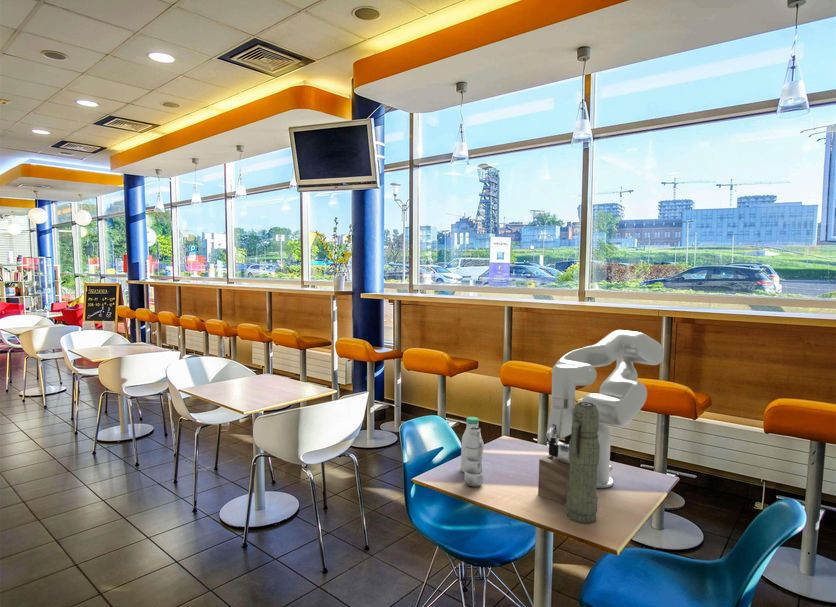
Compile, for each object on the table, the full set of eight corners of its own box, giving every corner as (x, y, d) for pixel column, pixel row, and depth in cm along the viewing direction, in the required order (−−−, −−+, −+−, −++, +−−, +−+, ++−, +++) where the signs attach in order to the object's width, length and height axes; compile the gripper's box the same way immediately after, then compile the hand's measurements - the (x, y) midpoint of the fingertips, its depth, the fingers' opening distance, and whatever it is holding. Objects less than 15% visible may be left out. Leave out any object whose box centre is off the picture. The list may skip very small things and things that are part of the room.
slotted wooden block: (554, 486, 178) (555, 452, 177) (580, 495, 171) (582, 460, 170) (538, 494, 171) (539, 459, 170) (564, 504, 164) (566, 468, 163)
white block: (556, 470, 173) (557, 441, 172) (572, 475, 169) (573, 445, 168) (552, 472, 171) (553, 442, 171) (568, 477, 167) (569, 447, 166)
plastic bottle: (482, 489, 174) (484, 432, 172) (462, 487, 175) (464, 430, 174) (483, 482, 180) (485, 426, 179) (464, 480, 181) (466, 425, 180)
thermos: (558, 518, 154) (563, 404, 152) (576, 505, 163) (580, 398, 161) (586, 528, 148) (591, 410, 146) (603, 515, 157) (608, 403, 155)
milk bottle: (476, 476, 185) (478, 422, 184) (457, 472, 189) (458, 419, 187) (484, 469, 192) (486, 417, 190) (465, 465, 195) (467, 414, 194)
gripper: (566, 395, 178) (565, 443, 179) (538, 404, 166) (537, 455, 167) (586, 399, 172) (585, 449, 173) (558, 408, 160) (557, 462, 161)
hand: (561, 452), depth 170 cm, fingers open, 9 cm apart
